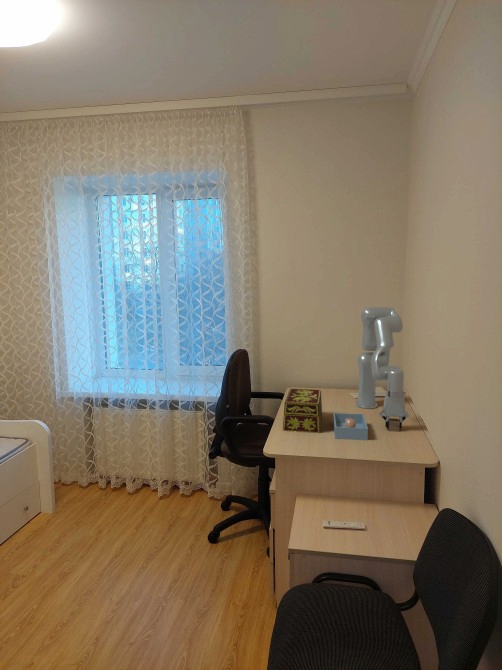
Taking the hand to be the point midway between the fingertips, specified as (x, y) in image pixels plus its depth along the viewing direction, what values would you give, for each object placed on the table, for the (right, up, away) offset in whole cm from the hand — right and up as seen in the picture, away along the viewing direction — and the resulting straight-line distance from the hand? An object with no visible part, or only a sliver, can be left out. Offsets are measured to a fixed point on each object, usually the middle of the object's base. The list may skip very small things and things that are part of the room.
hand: (393, 428), depth 229 cm
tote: (-22, -1, -2) cm, 23 cm away
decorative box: (-44, 0, +11) cm, 45 cm away
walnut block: (0, -1, 0) cm, 1 cm away
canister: (-23, -1, -6) cm, 24 cm away
